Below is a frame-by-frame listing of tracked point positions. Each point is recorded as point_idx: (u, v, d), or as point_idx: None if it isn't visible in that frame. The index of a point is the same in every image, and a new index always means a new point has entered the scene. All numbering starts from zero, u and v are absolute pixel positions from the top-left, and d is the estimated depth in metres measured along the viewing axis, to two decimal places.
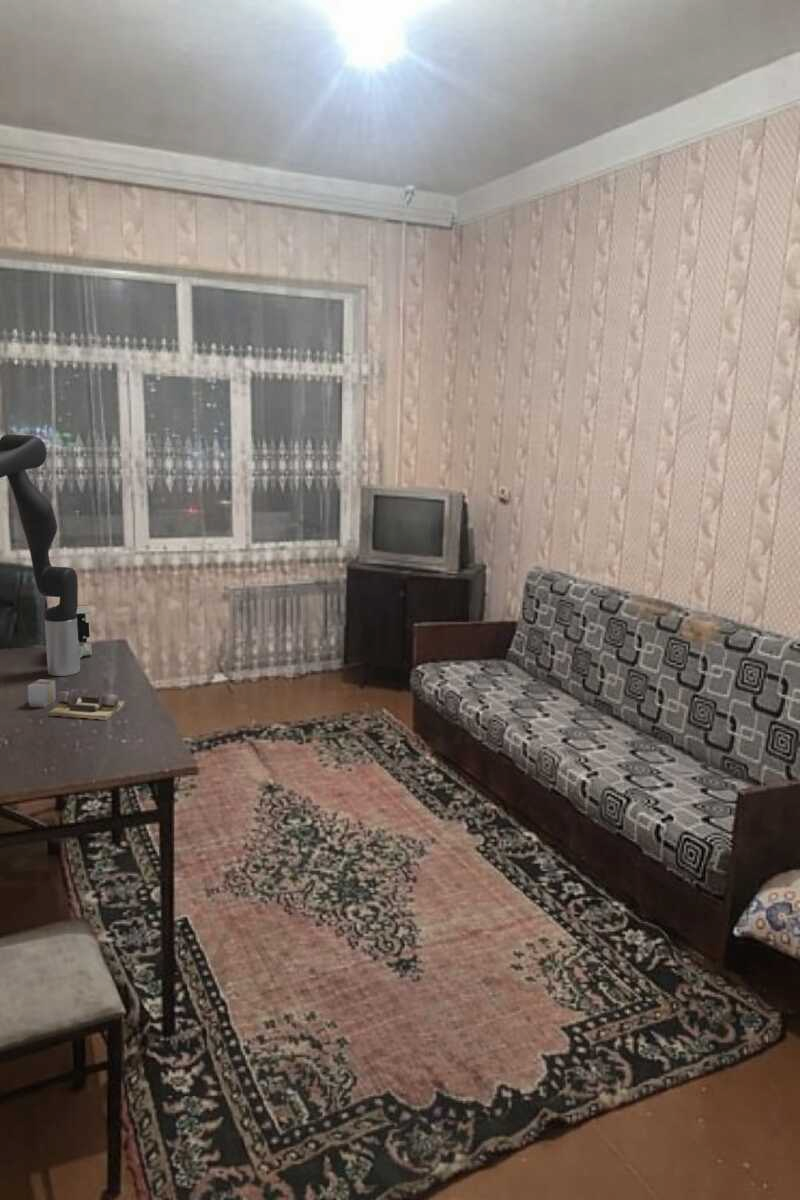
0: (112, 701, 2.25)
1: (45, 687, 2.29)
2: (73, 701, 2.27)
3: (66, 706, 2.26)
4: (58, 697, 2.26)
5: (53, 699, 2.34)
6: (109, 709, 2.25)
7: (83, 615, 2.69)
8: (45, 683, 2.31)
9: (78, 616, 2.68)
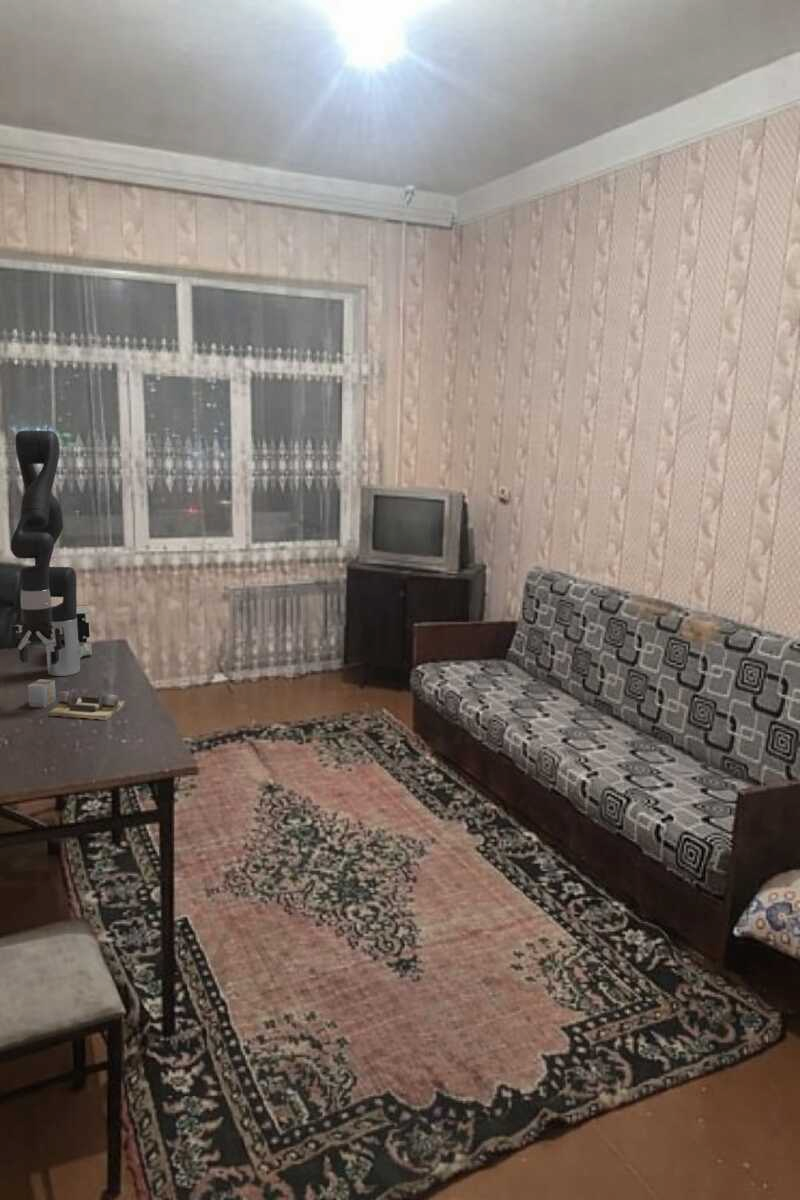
0: (112, 701, 2.25)
1: (45, 687, 2.29)
2: (73, 701, 2.27)
3: (66, 706, 2.26)
4: (58, 697, 2.26)
5: (53, 699, 2.34)
6: (109, 709, 2.25)
7: (83, 615, 2.69)
8: (45, 683, 2.31)
9: (78, 616, 2.68)
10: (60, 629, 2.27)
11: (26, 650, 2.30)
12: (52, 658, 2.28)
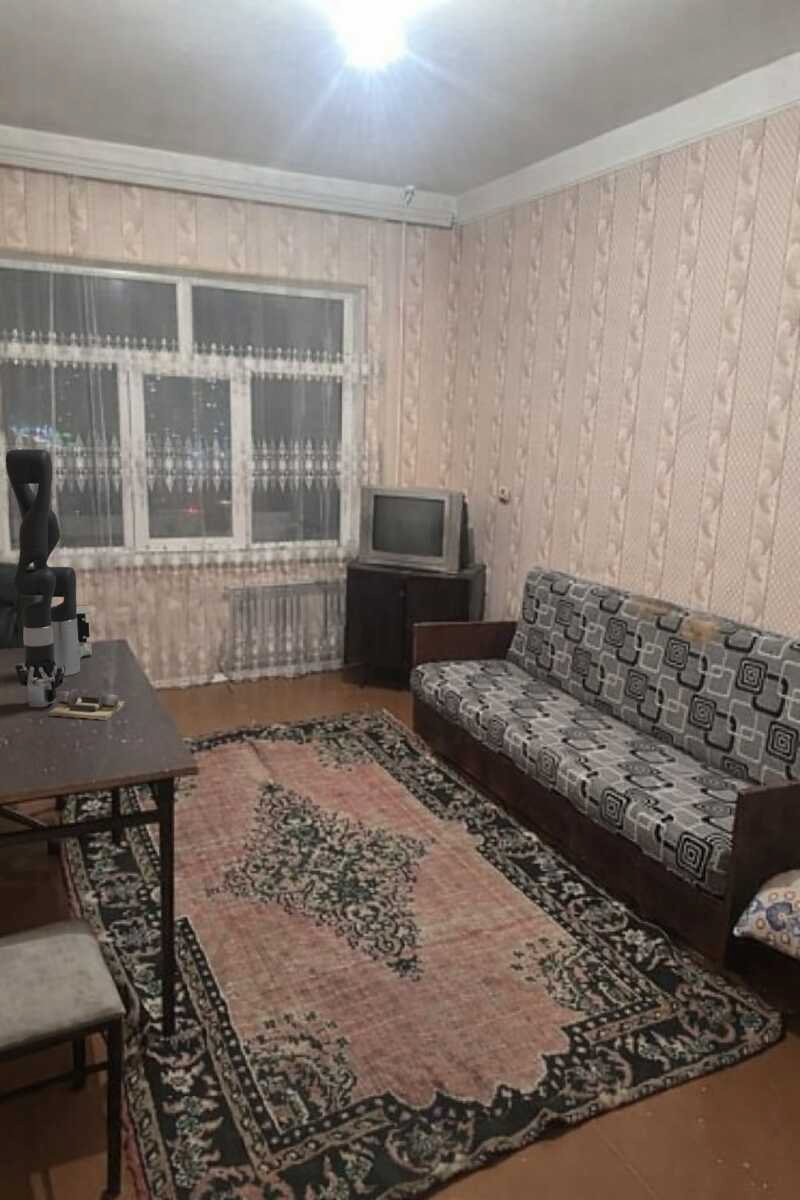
0: (112, 701, 2.25)
1: (45, 687, 2.29)
2: (73, 701, 2.27)
3: (66, 706, 2.26)
4: (58, 697, 2.26)
5: None
6: (109, 709, 2.25)
7: (83, 615, 2.69)
8: (45, 683, 2.31)
9: (78, 616, 2.68)
10: (62, 669, 2.29)
11: None
12: (49, 696, 2.30)
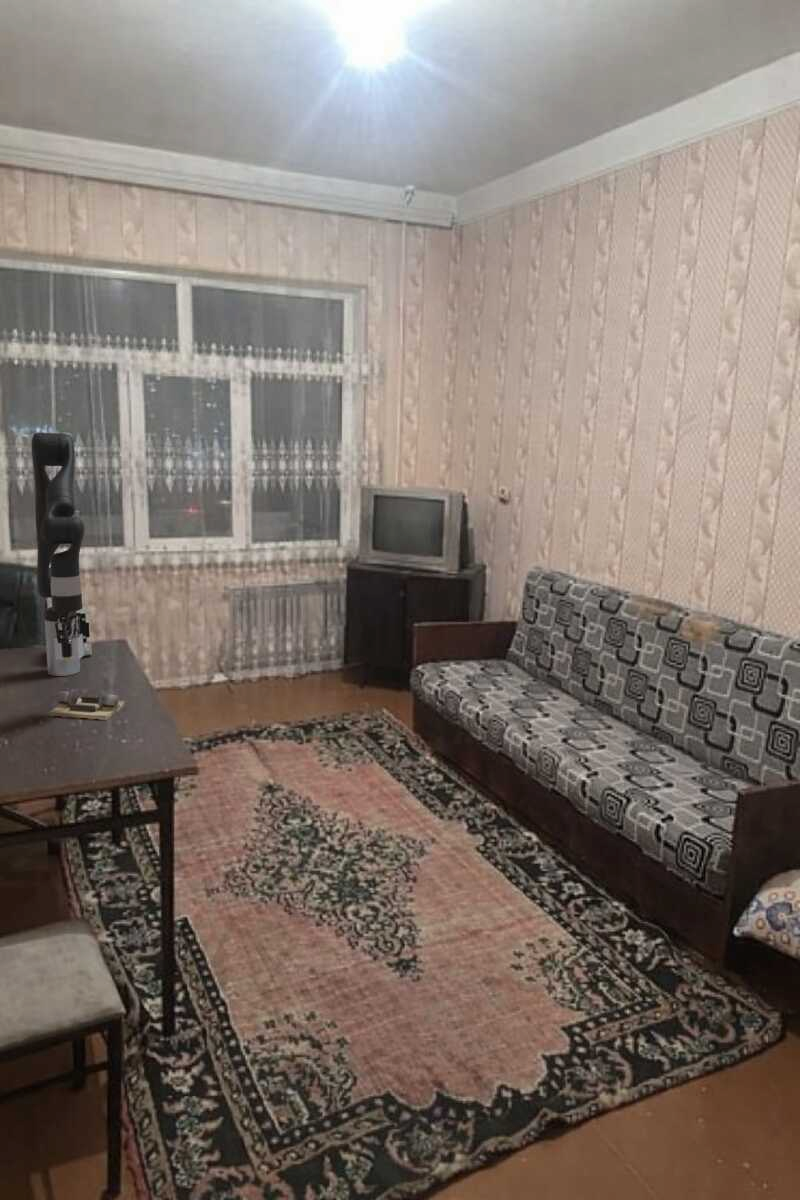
0: (112, 701, 2.25)
1: None
2: (73, 701, 2.27)
3: (66, 706, 2.26)
4: (58, 697, 2.26)
5: (73, 657, 2.22)
6: (109, 709, 2.25)
7: (83, 615, 2.69)
8: None
9: None
10: (59, 625, 2.16)
11: None
12: (62, 650, 2.21)
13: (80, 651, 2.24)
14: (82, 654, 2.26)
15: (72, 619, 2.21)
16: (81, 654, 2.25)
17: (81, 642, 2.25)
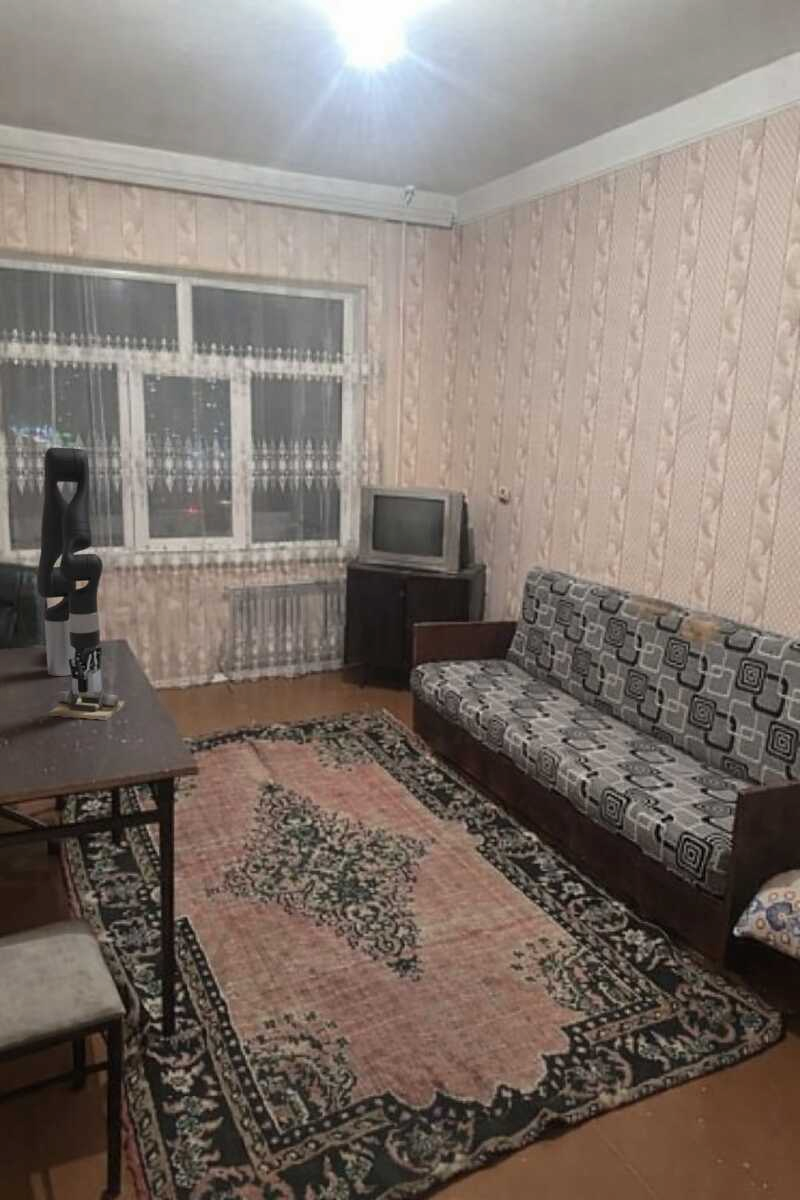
0: (112, 701, 2.25)
1: None
2: (73, 701, 2.27)
3: (66, 706, 2.26)
4: (58, 697, 2.26)
5: (89, 692, 2.24)
6: (109, 709, 2.25)
7: None
8: None
9: None
10: (72, 662, 2.18)
11: None
12: None
13: (97, 687, 2.26)
14: (99, 689, 2.27)
15: (88, 655, 2.22)
16: (98, 689, 2.26)
17: (99, 677, 2.26)
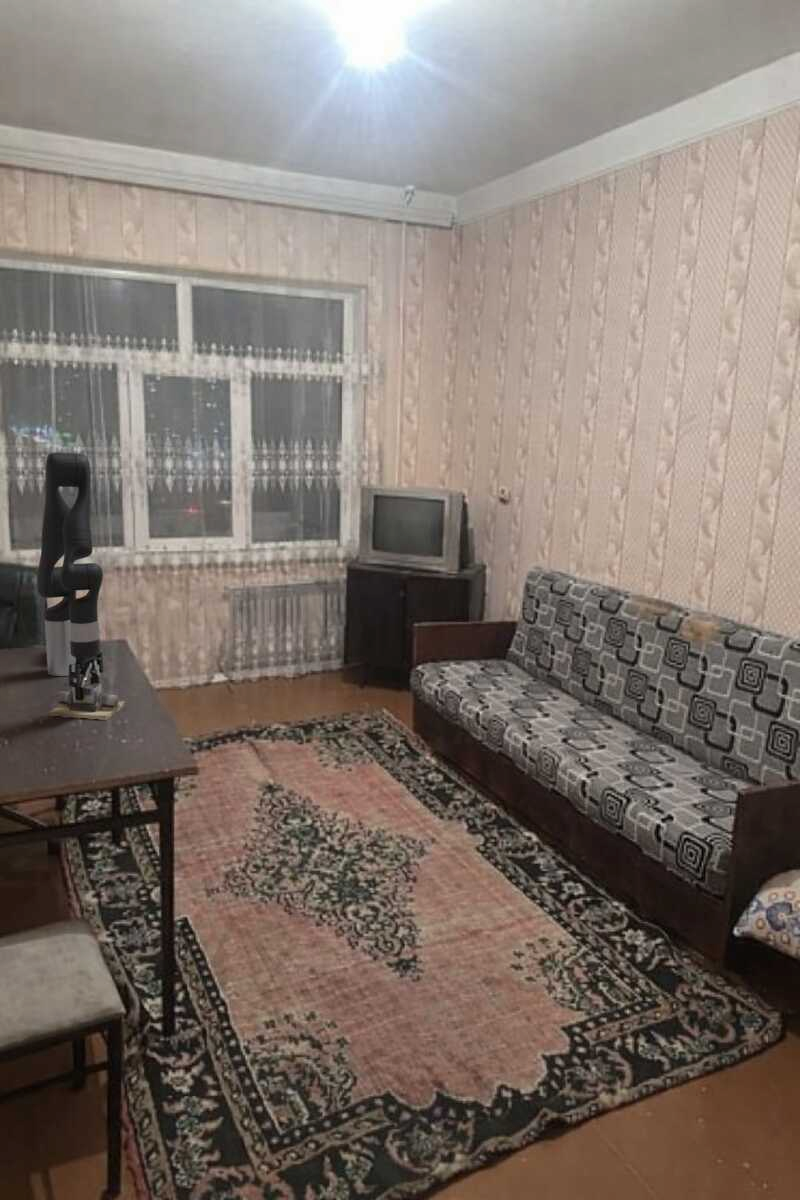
0: (112, 701, 2.25)
1: None
2: None
3: (66, 706, 2.26)
4: (58, 697, 2.26)
5: None
6: (109, 709, 2.25)
7: None
8: (83, 686, 2.25)
9: None
10: (72, 666, 2.18)
11: (95, 679, 2.30)
12: None
13: (97, 701, 2.26)
14: None
15: (89, 664, 2.23)
16: None
17: (99, 692, 2.27)
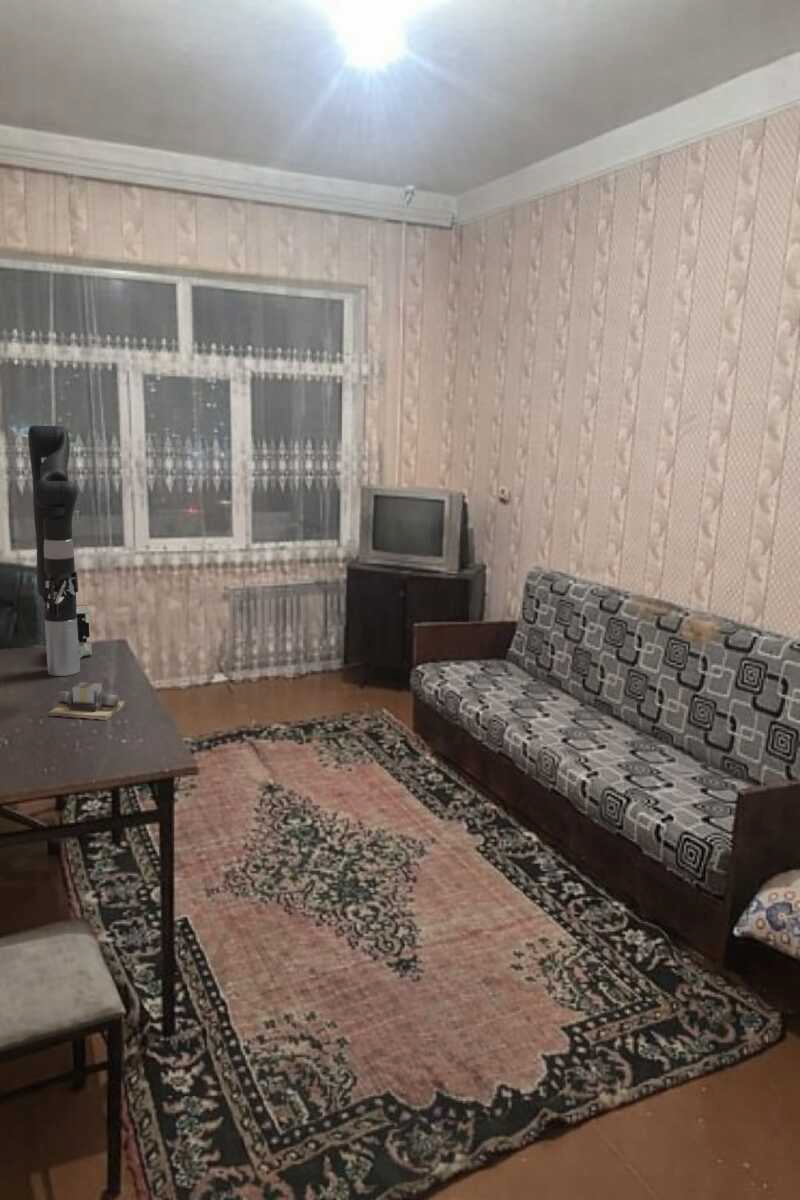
0: (112, 701, 2.25)
1: (76, 689, 2.24)
2: None
3: (66, 706, 2.26)
4: (58, 697, 2.26)
5: None
6: (109, 709, 2.25)
7: (83, 615, 2.69)
8: (83, 686, 2.25)
9: (78, 616, 2.68)
10: (46, 582, 2.21)
11: (70, 598, 2.33)
12: None
13: (97, 701, 2.26)
14: None
15: (63, 581, 2.26)
16: None
17: (99, 692, 2.27)
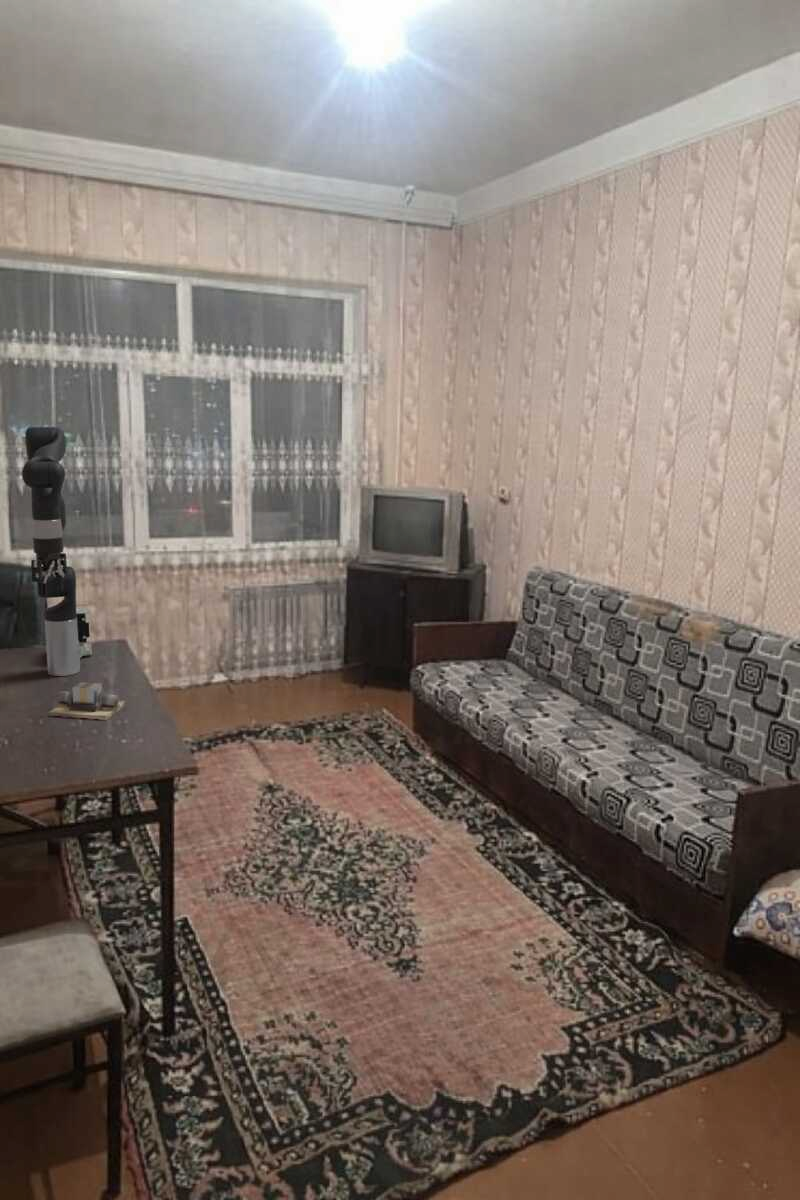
0: (112, 701, 2.25)
1: (76, 689, 2.24)
2: None
3: (66, 706, 2.26)
4: (58, 697, 2.26)
5: None
6: (109, 709, 2.25)
7: (83, 615, 2.69)
8: (83, 686, 2.25)
9: (78, 616, 2.68)
10: (34, 562, 2.23)
11: (59, 579, 2.35)
12: None
13: (97, 701, 2.26)
14: None
15: (51, 561, 2.28)
16: None
17: (99, 692, 2.27)
